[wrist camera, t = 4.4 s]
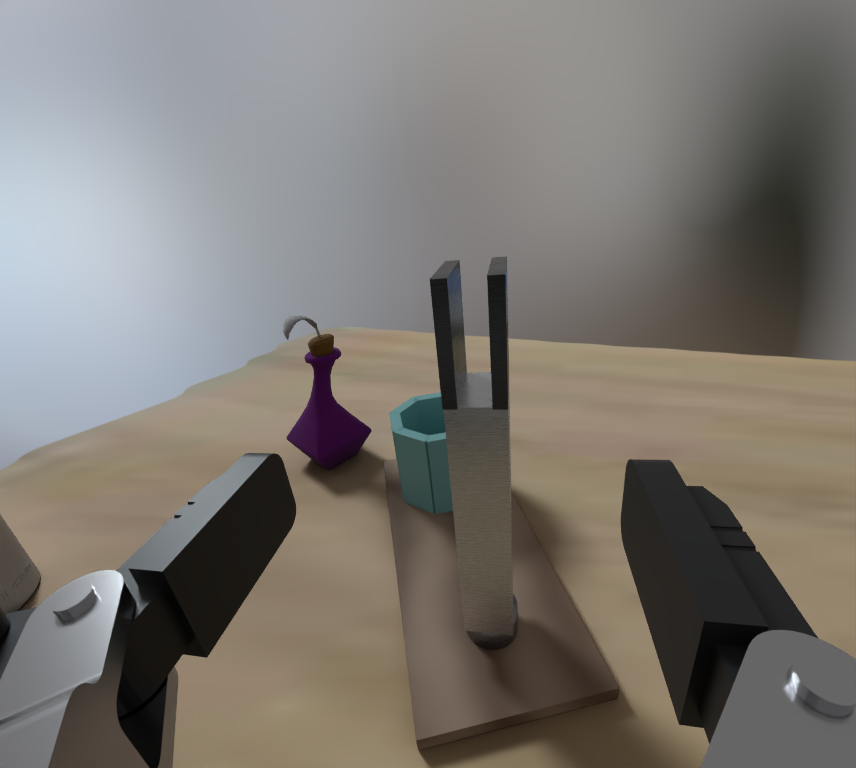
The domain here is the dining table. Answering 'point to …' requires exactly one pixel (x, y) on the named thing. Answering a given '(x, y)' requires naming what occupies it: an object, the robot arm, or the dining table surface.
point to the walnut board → (472, 665)
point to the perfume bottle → (325, 409)
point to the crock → (422, 453)
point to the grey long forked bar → (478, 456)
